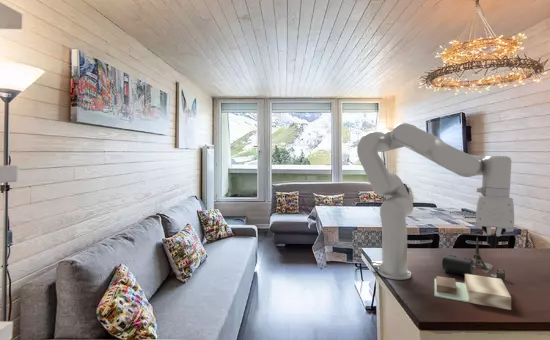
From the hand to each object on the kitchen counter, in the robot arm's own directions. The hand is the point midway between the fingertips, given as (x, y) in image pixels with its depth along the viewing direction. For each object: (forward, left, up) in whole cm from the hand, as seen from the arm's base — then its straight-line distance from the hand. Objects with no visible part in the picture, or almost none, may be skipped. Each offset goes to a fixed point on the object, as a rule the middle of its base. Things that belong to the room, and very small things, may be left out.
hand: (492, 246), depth 101 cm
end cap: (-9, +19, -18) cm, 27 cm away
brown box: (-14, 0, -15) cm, 20 cm away
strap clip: (+5, +19, -18) cm, 26 cm away
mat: (-12, 0, -17) cm, 21 cm away
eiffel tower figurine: (0, +34, -18) cm, 38 cm away
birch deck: (-2, 0, -17) cm, 17 cm away
